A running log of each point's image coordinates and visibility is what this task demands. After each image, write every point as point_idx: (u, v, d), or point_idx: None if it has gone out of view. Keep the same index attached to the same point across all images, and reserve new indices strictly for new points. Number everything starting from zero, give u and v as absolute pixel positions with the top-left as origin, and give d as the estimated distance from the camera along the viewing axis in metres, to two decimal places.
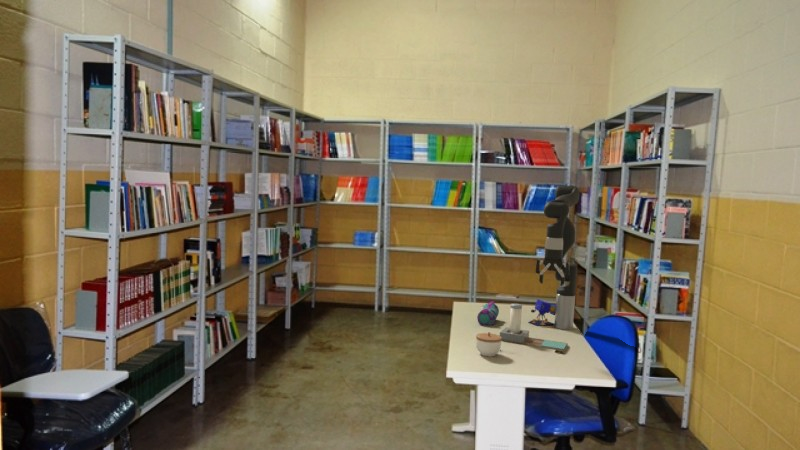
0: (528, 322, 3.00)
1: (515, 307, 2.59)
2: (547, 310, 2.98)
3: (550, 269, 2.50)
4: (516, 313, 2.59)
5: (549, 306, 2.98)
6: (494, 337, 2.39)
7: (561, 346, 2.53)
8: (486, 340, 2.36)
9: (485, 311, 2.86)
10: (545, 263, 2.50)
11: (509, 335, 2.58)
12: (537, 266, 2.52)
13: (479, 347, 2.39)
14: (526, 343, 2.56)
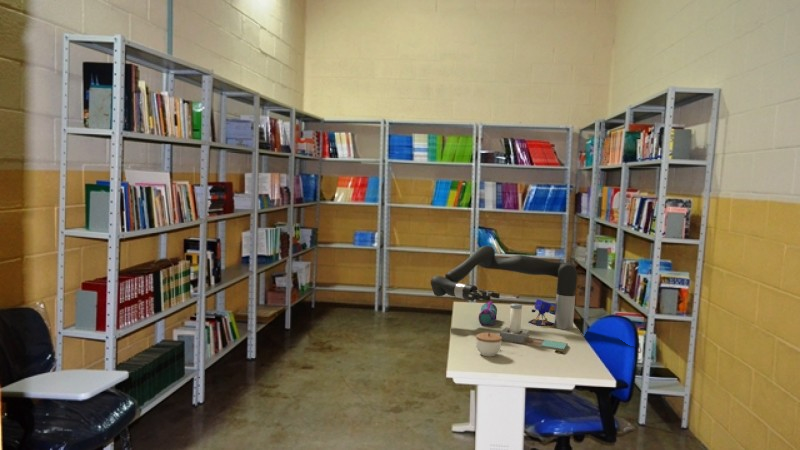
0: (528, 322, 3.01)
1: (515, 307, 2.59)
2: (547, 310, 2.99)
3: (481, 292, 2.72)
4: (516, 313, 2.59)
5: (549, 306, 2.99)
6: (494, 337, 2.39)
7: (561, 346, 2.53)
8: (486, 340, 2.36)
9: (486, 311, 2.86)
10: (474, 292, 2.72)
11: (509, 335, 2.58)
12: (474, 293, 2.68)
13: (479, 347, 2.39)
14: (526, 343, 2.56)
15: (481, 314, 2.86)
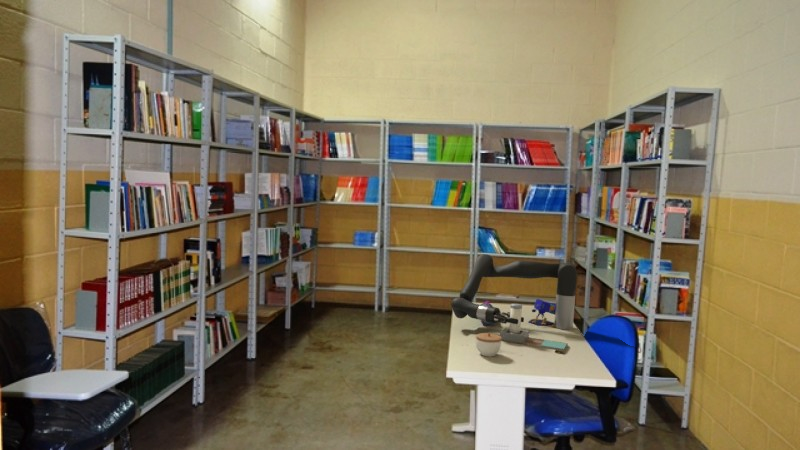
0: (528, 322, 3.01)
1: (515, 307, 2.59)
2: (547, 309, 3.00)
3: None
4: (516, 313, 2.59)
5: (549, 305, 3.00)
6: (494, 337, 2.39)
7: (561, 346, 2.53)
8: (486, 340, 2.36)
9: None
10: (499, 315, 2.64)
11: (509, 335, 2.58)
12: (500, 317, 2.61)
13: (479, 347, 2.39)
14: (526, 343, 2.56)
15: None
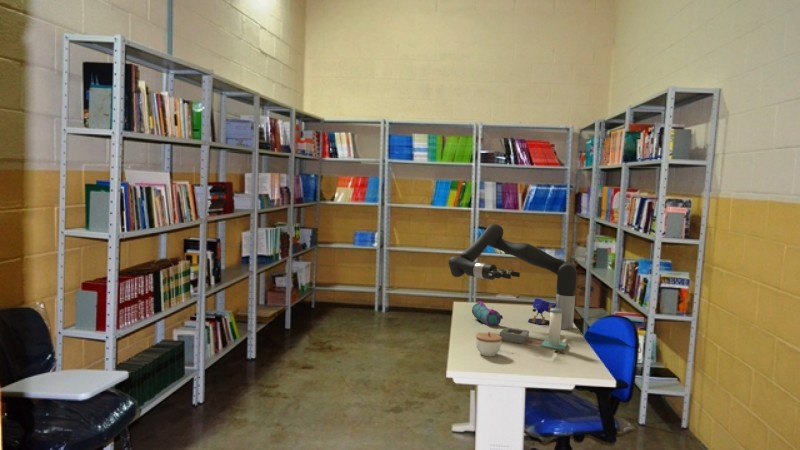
0: (528, 321, 3.01)
1: (555, 312, 2.52)
2: (546, 308, 3.02)
3: (501, 271, 2.68)
4: (556, 318, 2.52)
5: (548, 304, 3.02)
6: (494, 337, 2.39)
7: (561, 346, 2.53)
8: (486, 340, 2.36)
9: (493, 312, 2.86)
10: (494, 271, 2.68)
11: (509, 335, 2.58)
12: (494, 272, 2.64)
13: (479, 347, 2.39)
14: (526, 343, 2.56)
15: (488, 315, 2.85)
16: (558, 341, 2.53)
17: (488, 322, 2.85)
